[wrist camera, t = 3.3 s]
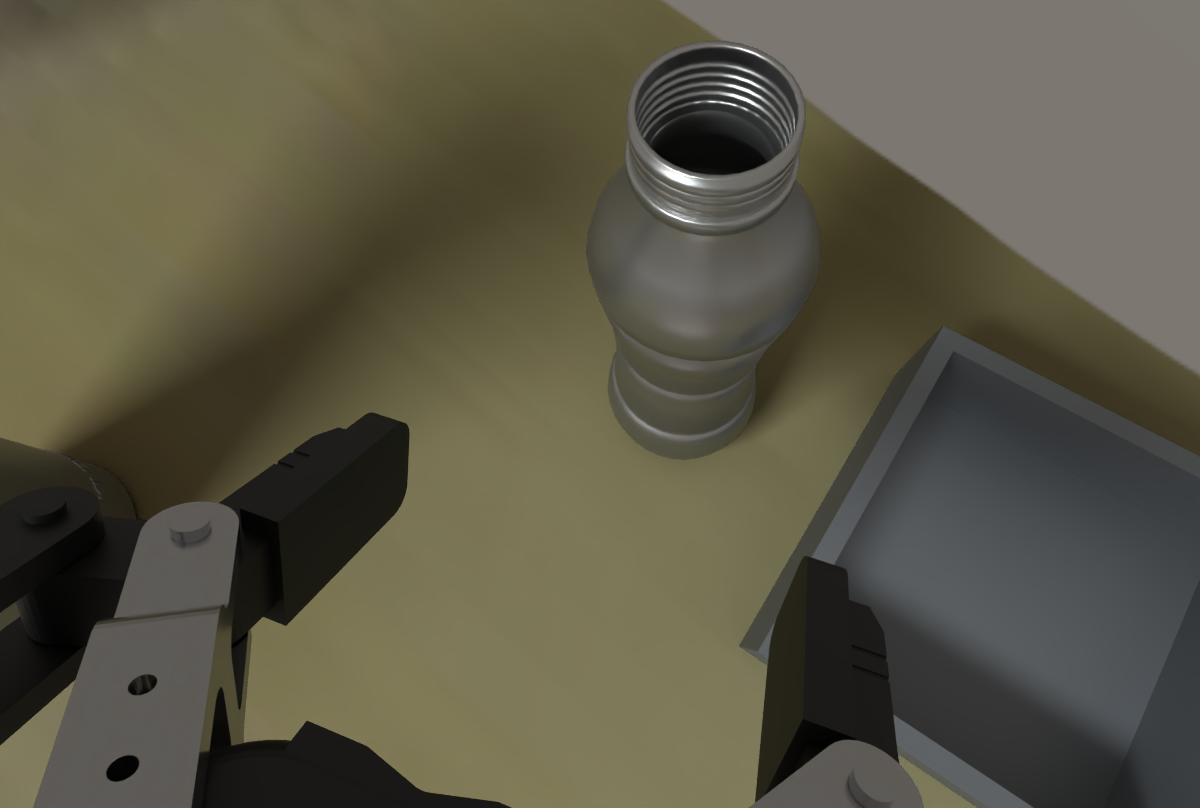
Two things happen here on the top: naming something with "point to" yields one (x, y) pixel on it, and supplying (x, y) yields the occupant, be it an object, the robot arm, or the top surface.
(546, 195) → the top surface
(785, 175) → the plastic bottle
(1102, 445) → the tray
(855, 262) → the top surface
